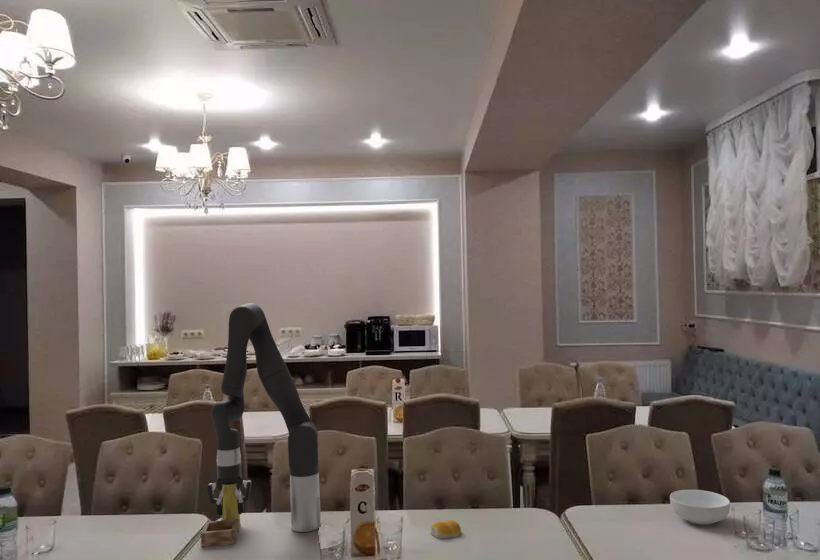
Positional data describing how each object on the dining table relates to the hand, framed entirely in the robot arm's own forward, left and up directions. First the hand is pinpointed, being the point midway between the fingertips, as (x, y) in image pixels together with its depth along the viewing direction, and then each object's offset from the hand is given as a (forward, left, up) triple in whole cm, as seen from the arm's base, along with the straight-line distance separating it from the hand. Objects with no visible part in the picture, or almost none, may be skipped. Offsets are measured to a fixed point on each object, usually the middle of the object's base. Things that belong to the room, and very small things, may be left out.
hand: (230, 514), depth 206 cm
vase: (0, 0, -4) cm, 4 cm away
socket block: (+2, +10, -4) cm, 11 cm away
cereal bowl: (-144, +34, -4) cm, 148 cm away
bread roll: (-66, +24, -5) cm, 70 cm away
